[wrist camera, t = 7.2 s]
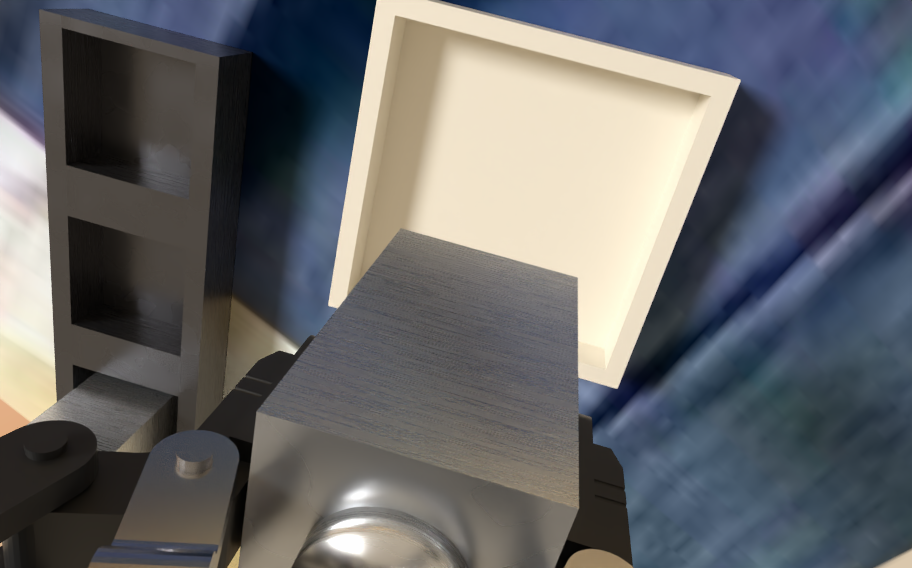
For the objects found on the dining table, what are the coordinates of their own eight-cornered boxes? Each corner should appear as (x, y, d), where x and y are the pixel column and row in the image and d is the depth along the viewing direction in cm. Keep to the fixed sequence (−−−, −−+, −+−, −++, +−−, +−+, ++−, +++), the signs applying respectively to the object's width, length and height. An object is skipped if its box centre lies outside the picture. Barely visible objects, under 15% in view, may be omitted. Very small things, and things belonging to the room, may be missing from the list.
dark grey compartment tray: (252, 52, 29) (219, 57, 27) (217, 460, 39) (190, 494, 37) (88, 8, 30) (39, 9, 27) (94, 423, 40) (59, 454, 37)
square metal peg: (190, 379, 37) (85, 480, 29) (186, 441, 38) (86, 552, 31) (115, 357, 37) (-8, 451, 29) (115, 420, 39) (-1, 524, 31)
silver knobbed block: (577, 277, 16) (578, 542, 8) (527, 424, 18) (490, 753, 10) (400, 228, 16) (236, 437, 8) (370, 377, 18) (213, 663, 10)
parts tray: (726, 73, 26) (740, 79, 24) (614, 360, 32) (617, 388, 30) (396, -11, 27) (378, -13, 25) (345, 284, 33) (328, 305, 31)
